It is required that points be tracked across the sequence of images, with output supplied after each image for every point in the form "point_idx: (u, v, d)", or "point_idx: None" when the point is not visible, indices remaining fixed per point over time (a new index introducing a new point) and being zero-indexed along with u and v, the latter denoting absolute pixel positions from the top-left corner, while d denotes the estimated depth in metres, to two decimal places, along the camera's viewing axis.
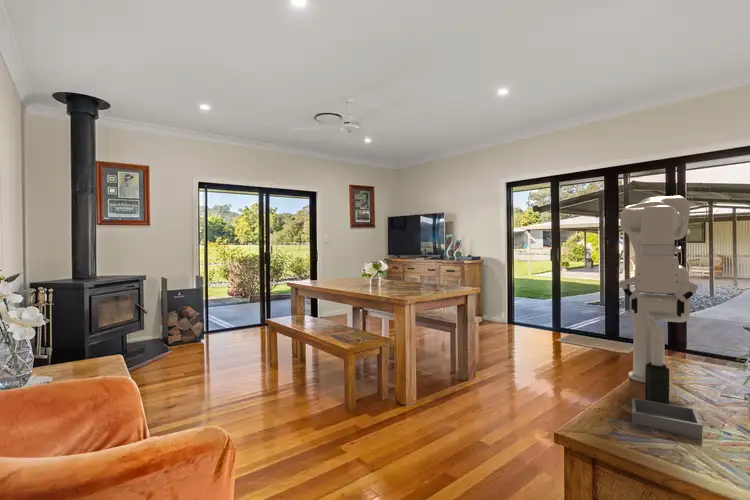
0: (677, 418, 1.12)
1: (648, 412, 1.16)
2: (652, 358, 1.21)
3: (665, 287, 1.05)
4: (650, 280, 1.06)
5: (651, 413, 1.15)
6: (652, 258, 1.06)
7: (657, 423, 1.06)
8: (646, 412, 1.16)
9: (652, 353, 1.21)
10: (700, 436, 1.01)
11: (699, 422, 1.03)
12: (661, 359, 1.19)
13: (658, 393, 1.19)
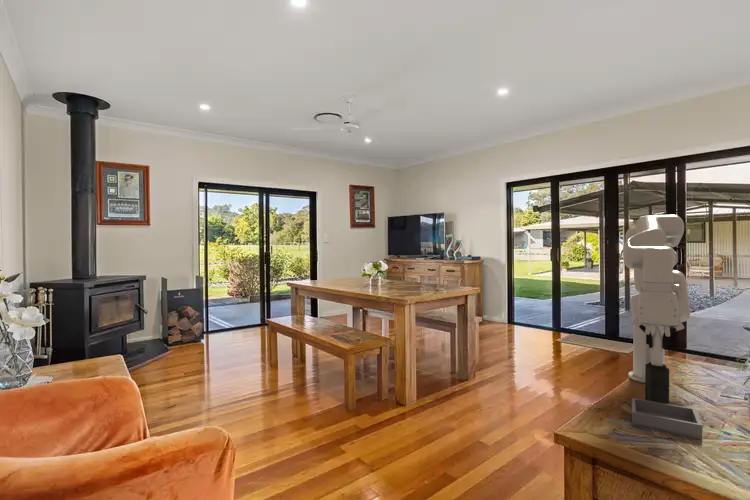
0: (677, 418, 1.12)
1: (648, 412, 1.16)
2: (652, 358, 1.21)
3: (664, 320, 1.18)
4: (651, 313, 1.19)
5: (651, 413, 1.15)
6: (653, 294, 1.19)
7: (657, 423, 1.06)
8: (646, 412, 1.16)
9: (652, 353, 1.21)
10: (700, 436, 1.01)
11: (699, 422, 1.03)
12: (661, 359, 1.19)
13: (658, 393, 1.19)
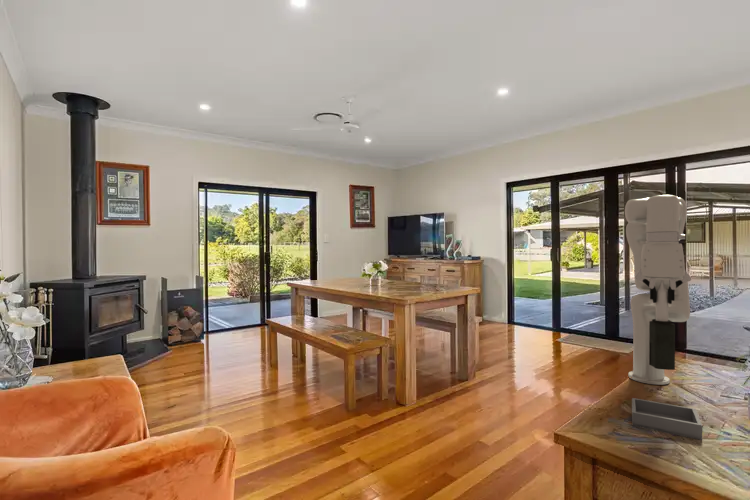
0: (677, 418, 1.12)
1: (648, 412, 1.16)
2: (656, 314, 1.14)
3: (670, 272, 1.11)
4: (656, 265, 1.12)
5: (651, 413, 1.15)
6: (657, 244, 1.12)
7: (657, 423, 1.06)
8: (646, 412, 1.16)
9: (656, 308, 1.14)
10: (700, 436, 1.01)
11: (699, 422, 1.03)
12: (666, 314, 1.12)
13: (663, 350, 1.11)
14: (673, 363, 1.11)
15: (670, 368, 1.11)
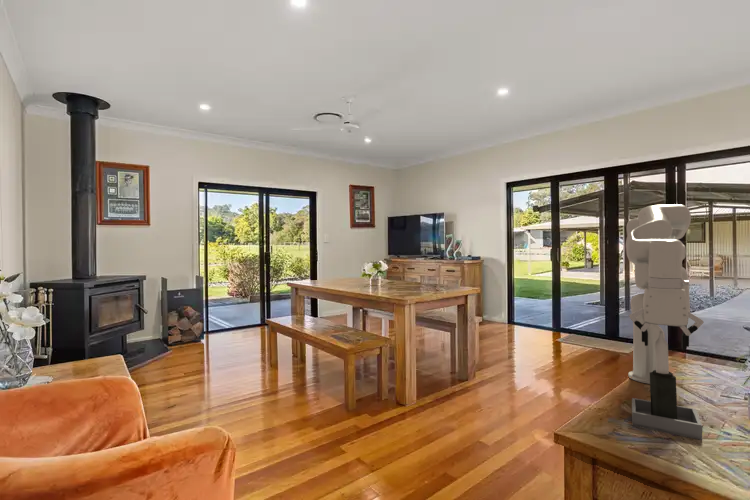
0: (677, 418, 1.12)
1: (648, 412, 1.16)
2: (657, 365, 1.11)
3: (673, 320, 1.07)
4: (658, 312, 1.09)
5: None
6: (660, 291, 1.08)
7: (657, 423, 1.06)
8: (646, 412, 1.16)
9: (656, 360, 1.11)
10: (700, 436, 1.01)
11: (699, 422, 1.03)
12: (667, 366, 1.09)
13: (665, 404, 1.08)
14: (675, 417, 1.08)
15: None
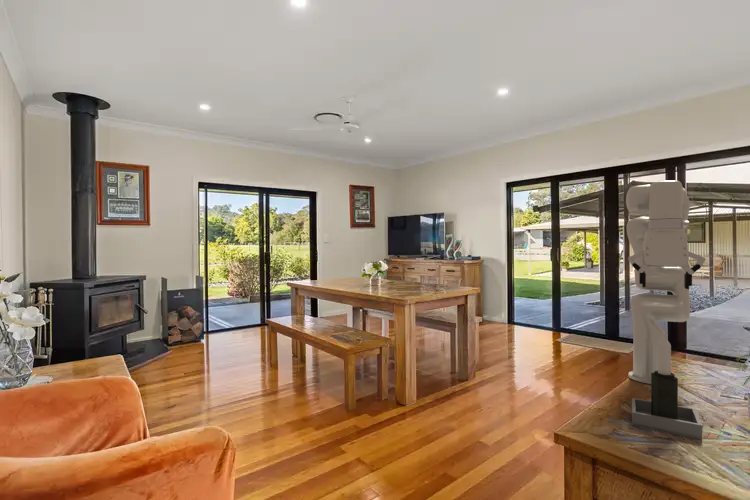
0: None
1: (648, 412, 1.16)
2: (659, 366, 1.10)
3: (673, 260, 1.07)
4: (658, 253, 1.08)
5: None
6: (660, 232, 1.08)
7: (657, 423, 1.06)
8: (646, 412, 1.16)
9: (659, 361, 1.10)
10: (700, 436, 1.01)
11: (699, 422, 1.03)
12: (669, 367, 1.09)
13: (666, 404, 1.08)
14: (676, 418, 1.08)
15: None
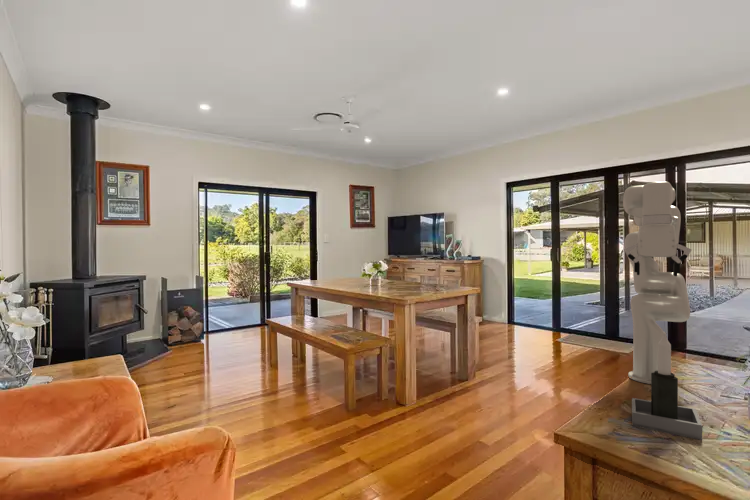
0: None
1: (648, 412, 1.16)
2: (659, 366, 1.10)
3: (663, 251, 1.23)
4: (651, 245, 1.24)
5: None
6: (652, 226, 1.24)
7: (657, 423, 1.06)
8: (646, 412, 1.16)
9: (659, 361, 1.10)
10: (700, 436, 1.01)
11: (699, 422, 1.03)
12: (669, 367, 1.09)
13: (666, 404, 1.08)
14: (676, 418, 1.08)
15: None
